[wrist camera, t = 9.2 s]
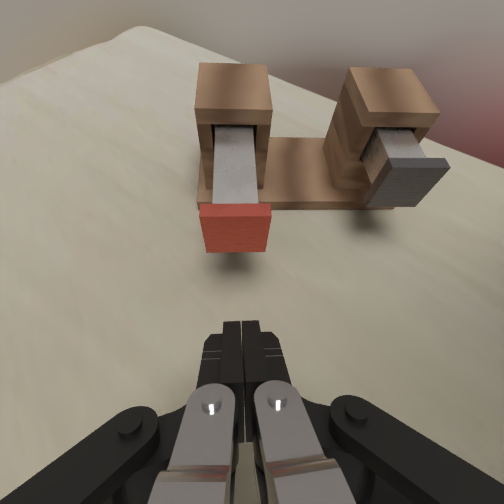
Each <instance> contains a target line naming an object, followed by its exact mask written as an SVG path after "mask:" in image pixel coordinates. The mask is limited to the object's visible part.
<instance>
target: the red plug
mask: <svg viewBox="0 0 504 504" xmlns="http://www.w3.org/2000/svg"><path fill="white" fill-rule="evenodd" d="M271 217H272V215H271V206H270V203H258V191H257V178H256V164H255V151H254V137H253V125H240V124H215V149H214V174H213V199H212V204H200V214H199V218H200V222H201V227H202V232H203V237H204V242H205V246H206V251H207V253H217V252H265V249H266V244H267V238H268V233H269V228H270V222H271Z"/></svg>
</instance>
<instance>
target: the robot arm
mask: <svg viewBox="0 0 504 504" xmlns="http://www.w3.org/2000/svg"><path fill="white" fill-rule="evenodd" d="M244 407H245V426H246V442H253V449H254V473H255V480H256V487H257V494H258V501H259V504H504V485H503V484H502V483H500V482H499V481H497V480H495V479H494V478H492V477H490V476H489V475H487V474H485V473H484V472H482V471H481V470H479V469H477V468H476V467H474V466H472V465H471V464H469V463H468V462H466V461H464V460H463V459H461V458H459V457H458V456H456V455H454V454H453V453H451V452H450V451H448V450H446V449H445V448H443V447H441V446H440V445H438V444H437V443H435V442H433V441H432V440H430V439H428V438H427V437H425V436H424V435H422V434H420V433H419V432H417V431H415V430H414V429H412V428H410V427H409V426H407V425H406V424H404V423H402V422H401V421H399V420H397V419H396V418H394V417H393V416H391V415H389V414H388V413H386V412H384V411H383V410H381V409H379V408H378V407H376V406H375V405H373V404H371V403H370V402H368V401H366V400H364V399H362V398H360V397H357V396H352V395H343V396H339V397H337V398H336V399H334V400H333V402H332V403H331V406H326V405H321V404H317V403H313V402H310V401H308V400H306V399H304V398H302V397H301V396H300V394H299V392H298V391H297V390H296V388H294V387H293V386H292V384H291V381H290V377H289V374H288V370H287V367H286V364H285V360H284V357H283V353H282V350H281V346H280V343H279V339H278V338H277V337H276V336H275V335H274V334H273V333H272V332H261V331H260V325H259V321H258V320H253V321H242V343H241V324H240V321H228V322H223V334H211V335H210V336H209V337H208V338H207V340H206V341H205V342H204V348H203V354H202V360H201V365H200V371H199V376H198V382H197V388H196V390H195V391H194V392H193V393H192V394H191V396H190V397H189V399H188V402H187V404H186V405H185V406H183V407H182V408H180V409H178V410H176V411H174V412H171V413H168V414H165V415H162V416H159V417H158V416H157V414H156V412H155V411H154V410H153V409H151V408H149V407H145V406H137V407H132V408H129V409H126V410H124V411H122V412H120V413H119V414H117V415H116V416H114V417H113V418H112V419H110V420H109V421H107V422H106V423H105V424H103V425H102V426H101V427H99V428H98V429H97V430H95V431H94V432H93V433H91V434H90V435H88V436H87V437H86V438H84V439H83V440H82V441H80V442H79V443H78V444H76V445H75V446H74V447H72V448H71V449H69V450H68V451H67V452H65V453H64V454H63V455H61V456H60V457H59V458H57V459H56V460H55V461H53V462H52V463H51V464H49V465H48V466H46V467H45V468H44V469H42V470H41V471H40V472H38V473H37V474H36V475H34V476H33V477H32V478H30V479H29V480H27V481H26V482H25V483H23V484H22V485H21V486H19V487H18V488H17V489H15V490H14V491H13V492H11V493H10V494H8V495H7V496H6V497H4V498H3V499H2V500H0V504H235V492H236V475H237V464H238V458H239V451H238V443H244Z"/></svg>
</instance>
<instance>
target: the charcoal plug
mask: <svg viewBox="0 0 504 504" xmlns="http://www.w3.org/2000/svg"><path fill="white" fill-rule="evenodd" d="M361 158H362V161H363V163H364V166H365V169H366V171H367V174H368V177H369V180H370V182H371V187H370V188H369V190H368V191H367V193H366V195H365V196H364V201H365V204H366V207H415V206H416V205H417V204H418V203H419V202H420V201H421V200H422V199H423V198H424V196H425V195H426V194H427V193H428V192H429V191H430V190H431V189H432V188H433V187H434V185H435V184H436V183H437V182H438V181H439V180H440V179H441V178H442V177H443V176H444V175H445V173H446V172H447V171H448V170H449V169H450V168H451V167H450V166H449V164H448V162H447V161H446V159H445V158H426V156H425V154H424V152H423V151H422V149H421V147H420V145H419V143H418V141H417V140H416V138H415V136H414V134H413V132H412V130H411V129H410V127H375V128H374V130H373V132H372V134H371V136H370V138H369V140H368V142H367V144H366V146H365V148H364V150H363V152H362V154H361Z"/></svg>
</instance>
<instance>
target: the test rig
mask: <svg viewBox="0 0 504 504" xmlns="http://www.w3.org/2000/svg"><path fill="white" fill-rule="evenodd" d="M272 111H273V109H272V101H271V94H270V87H269V80H268V73H267V66H266V65H263V64H231V63H199V71H198V80H197V89H196V99H195V115H196V122H197V129H198V136H199V142H200V149H201V159H200V172H199V185H198V198H197V203H198V208H199V210H200V204H212V199H213V174H214V149H215V124H240V125H253V137H254V151H255V164H256V178H257V191H258V203H270V206H271V210H275V209H394V207H366V204H365V201H364V196H365V195H366V193H367V191H368V190H369V188H370V187H371V182H370V180H369V177H368V174H367V171H366V169H365V166H364V163H363V161H362V158H361V154H362V152H363V150H364V148H365V146H366V144H367V142H368V140H369V138H370V136H371V134H372V132H373V130H374V128H375V127H410V129H411V130H412V132H413V134H414V136H415V138H416V140H417V141H418V143H420V142H421V140H422V139H423V138H424V136H425V135H426V133H427V132H428V130H429V129H430V128H431V126H432V125H433V123H434V122H435V121H436V119H437V118H438V116H439V115H440V111H439V110H438V108H437V107H436V105H435V104H434V102H433V101H432V99H431V98H430V96H429V95H428V93H427V92H426V90H425V89H424V88H423V86H422V85H421V83H420V81H419V80H418V79H417V77H416V75H415V74H414V73H413V71H412V70H411V69H391V68H390V69H389V68H359V67H358V68H357V67H349V69H348V72H347V75H346V78H345V81H344V84H343V87H342V90H341V93H340V96H339V99H338V102H337V105H336V108H335V111H334V114H333V117H332V120H331V123H330V126H329V129H328V132H327V135H326V138H287V137H269V136H270V128H271V119H272Z"/></svg>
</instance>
